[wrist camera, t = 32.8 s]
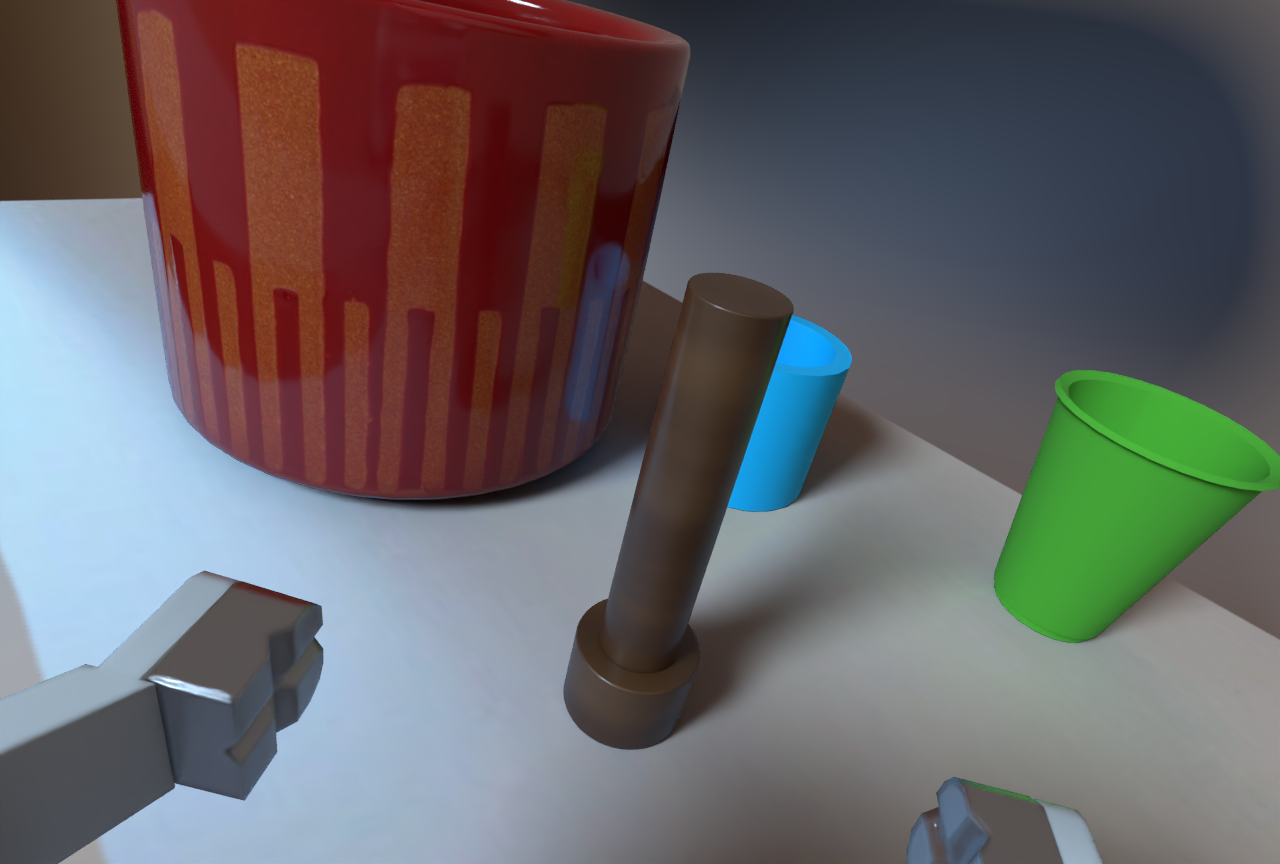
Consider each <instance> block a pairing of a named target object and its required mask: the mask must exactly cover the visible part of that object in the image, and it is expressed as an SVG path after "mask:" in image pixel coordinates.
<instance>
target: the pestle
mask: <svg viewBox="0 0 1280 864" xmlns="http://www.w3.org/2000/svg"><path fill="white" fill-rule="evenodd" d="M792 314H793V304H792V303H791V302H790V300H789V299H788V298H787V297H786V296H785V295H783V294H782V293H780V292H779V291H777V290H775V289H773V288H772V287H769V286H767V285H765V284H763V283H760V282H757V281H754V280H751V279H748V278H745V277H741V276H736V275H731V274H723V273H702V274H698V275H695V276H693V277H692V278H691V279H690V280H689V281H688V284H687V288H686V292H685V296H684V300H683V304H682V308H681V312H680V316H679V320H678V324H677V328H676V332H675V336H674V340H673V344H672V348H671V351H670V355H669V359H668V363H667V367H666V371H665V375H664V379H663V383H662V387H661V391H660V395H659V399H658V403H657V407H656V411H655V415H654V419H653V423H652V427H651V431H650V435H649V439H648V443H647V447H646V451H645V454H644V458H643V462H642V466H641V470H640V474H639V478H638V482H637V486H636V490H635V494H634V498H633V502H632V506H631V510H630V514H629V518H628V522H627V526H626V530H625V534H624V538H623V542H622V546H621V550H620V554H619V558H618V561H617V565H616V569H615V573H614V577H613V581H612V585H611V589H610V593H609V597H608V599H606V600H603V601H601V602H599V603H597V604H595V605H594V606H592V607H591V608H590V609H589V610H588V611H587V612H586V613H585V614H584V615H583V616H582V618H581V620H580V621H579V624H578V626H577V630H576V635H575V639H574V644H573V648H572V652H571V657H570V661H569V665H568V670H567V674H566V679H565V683H564V700H565V704H566V707H567V710H568V712H569V714H570V716H571V718H572V719H573V721H574V722H575V723H576V725H577V726H578V727H579V728H580V729H581V730H582V731H583V732H584V733H586V734H587V735H588V736H589V737H591V738H593V739H594V740H596V741H598V742H600V743H602V744H604V745H607V746H610V747H614V748H619V749H641V748H646V747H649V746H652V745H654V744H656V743H658V742H660V741H661V740H663V739H665V738H666V737H667V736H668V735H669V734H670V733H671V732H672V731H673V729H674V728H675V726H676V725H677V723H678V720H679V718H680V715H681V712H682V709H683V707H684V704H685V701H686V698H687V696H688V693H689V690H690V687H691V685H692V682H693V679H694V676H695V674H696V671H697V668H698V665H699V660H700V650H699V644H698V641H697V638H696V636H695V634H694V632H693V630H692V629H691V627H690V626H689V625H688V622H689V619H690V616H691V613H692V610H693V607H694V604H695V601H696V598H697V595H698V592H699V589H700V586H701V583H702V580H703V577H704V574H705V571H706V568H707V566H708V563H709V560H710V557H711V554H712V551H713V548H714V545H715V542H716V539H717V536H718V533H719V530H720V527H721V524H722V521H723V518H724V515H725V512H726V509H727V506H728V503H729V500H730V497H731V495H732V492H733V489H734V486H735V483H736V480H737V477H738V474H739V471H740V468H741V465H742V462H743V459H744V456H745V453H746V450H747V447H748V444H749V441H750V438H751V435H752V432H753V429H754V426H755V424H756V421H757V418H758V415H759V412H760V409H761V406H762V403H763V400H764V397H765V394H766V391H767V388H768V385H769V382H770V379H771V376H772V373H773V370H774V367H775V364H776V361H777V358H778V355H779V353H780V350H781V347H782V344H783V341H784V338H785V335H786V332H787V329H788V326H789V323H790V320H791V317H792Z"/></svg>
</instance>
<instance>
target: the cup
mask: <svg viewBox="0 0 1280 864" xmlns="http://www.w3.org/2000/svg"><path fill="white" fill-rule="evenodd" d="M1055 391H1056V393H1057V394H1058V399H1057V402H1056V405H1055V407H1054V410H1053V413H1052V415H1051V418H1050V421H1049V424H1048V426H1047V429H1046V432H1045V435H1044V437H1043V440H1042V443H1041V446H1040V449H1039V451H1038V454H1037V457H1036V460H1035V462H1034V465H1033V468H1032V470H1031V473H1030V476H1029V479H1028V481H1027V484H1026V487H1025V490H1024V492H1023V495H1022V498H1021V501H1020V503H1019V506H1018V509H1017V512H1016V514H1015V517H1014V520H1013V523H1012V525H1011V528H1010V531H1009V534H1008V536H1007V539H1006V542H1005V545H1004V547H1003V550H1002V553H1001V556H1000V558H999V561H998V564H997V567H996V569H995V574H994V580H995V584H994V588H995V591H996V595H997V596H998V598H999V600H1000V601H1001V603H1002V604H1003V605H1004V606H1005V608H1006V609H1007V610H1008V611H1009V612H1010V613H1011V614H1012V615H1013V616H1015V617H1016V618H1017V619H1018V620H1019V621H1021V622H1022V623H1024V624H1025V625H1027V626H1028V627H1030V628H1031V629H1033V630H1035V631H1037V632H1039V633H1041V634H1043V635H1045V636H1048V637H1050V638H1053V639H1056V640H1060V641H1064V642H1075V643H1078V642H1083V641H1086V640H1088V639H1089V638H1093V637H1096V636H1097V635H1099V634H1100V633H1101V632H1102V631H1103V630H1105V629H1106V628H1107V627H1108V626H1109V625H1110V624H1111V623H1113V622H1114V621H1115V620H1116V619H1117V618H1118V617H1119V616H1121V615H1122V614H1123V613H1124V612H1125V611H1126V610H1127V609H1129V608H1130V607H1131V606H1132V605H1133V604H1134V603H1135V602H1137V601H1138V600H1139V599H1140V598H1141V597H1142V596H1143V595H1145V594H1146V593H1147V592H1148V591H1149V590H1150V589H1151V588H1152V587H1154V586H1155V585H1156V584H1157V583H1158V582H1159V581H1160V580H1162V579H1163V578H1164V577H1165V576H1166V575H1167V574H1168V573H1170V572H1171V571H1172V570H1173V569H1174V568H1175V567H1176V566H1178V565H1179V564H1180V563H1181V562H1182V561H1183V560H1184V559H1185V558H1187V557H1188V556H1189V555H1190V554H1191V553H1192V552H1194V551H1195V550H1196V549H1197V548H1198V547H1199V546H1200V545H1202V544H1203V543H1204V542H1205V541H1206V540H1207V539H1208V538H1209V537H1211V536H1212V535H1213V534H1214V533H1215V532H1216V531H1217V530H1218V529H1220V528H1221V527H1222V526H1223V525H1224V524H1225V523H1227V522H1228V521H1229V520H1230V519H1231V518H1232V517H1233V516H1234V515H1236V514H1237V513H1238V512H1239V511H1240V510H1241V509H1242V508H1244V507H1245V506H1246V505H1247V504H1248V503H1249V502H1250V501H1252V500H1253V499H1254V498H1255V497H1256V496H1257V495H1258V494H1260V493H1261V492H1262V491H1267V490H1274V489H1279V488H1280V456H1279V455H1278V454H1277V453H1276V452H1275V451H1274V450H1273V449H1272V448H1271V447H1269V446H1268V444H1266V443H1265V442H1264V441H1262V440H1261V439H1260V438H1258V437H1257V436H1256V435H1254V434H1253V433H1251V432H1250V431H1249V430H1247V429H1245V428H1244V427H1242V426H1240V425H1239V424H1237V423H1236V422H1234V421H1232V420H1231V419H1229V418H1227V417H1225V416H1223V415H1221V414H1220V413H1218V412H1216V411H1214V410H1212V409H1210V408H1208V407H1206V406H1204V405H1202V404H1200V403H1197V402H1195V401H1193V400H1190V399H1188V398H1186V397H1184V396H1181V395H1179V394H1177V393H1174V392H1171V391H1169V390H1166V389H1164V388H1161V387H1158V386H1156V385H1153V384H1150V383H1146V382H1143V381H1140V380H1136V379H1133V378H1129V377H1126V376H1121V375H1117V374H1113V373H1108V372H1099V371H1093V370H1075V371H1072V372H1068V373H1065V374H1064V375H1062V376H1061V377H1060V378H1059V379H1058V380H1057V381H1056V382H1055Z"/></svg>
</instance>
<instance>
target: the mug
mask: <svg viewBox="0 0 1280 864" xmlns="http://www.w3.org/2000/svg"><path fill="white" fill-rule="evenodd" d="M851 362H852V356H851V354H850V351H849V349H848V348H847V347H846V346H845V345H844V344H843V343H842V342H841V341H840V340H839V339H838V338H837V337H836V336H834V335H833V334H831V333H830V332H828V331H827V330H825V329H824V328H822V327H820V326H818V325H816V324H814V323H812V322H809V321H807V320H805V319H803V318H801V317H798V316H795V315H792V317H791V320H790V323H789V326H788V329H787V332H786V335H785V338H784V341H783V344H782V347H781V350H780V353H779V355H778V358H777V361H776V364H775V367H774V370H773V373H772V376H771V379H770V382H769V385H768V388H767V391H766V394H765V397H764V400H763V403H762V406H761V409H760V412H759V415H758V418H757V421H756V424H755V426H754V429H753V432H752V435H751V438H750V441H749V444H748V447H747V450H746V453H745V456H744V459H743V462H742V465H741V468H740V471H739V474H738V477H737V480H736V483H735V486H734V489H733V492H732V495H731V497H730V500H729V503H728V506H727V507H731V508H735V509H740V510H745V511H771V510H775V509H779V508H783V507H786V506H788V505H789V504H790V503H792V502H793V501H794V500H796V499H797V498H798V496H799V494H800V491H801V489H802V486H803V483H804V481H805V478H806V476H807V473H808V471H809V468H810V466H811V463H812V461H813V458H814V456H815V453H816V451H817V448H818V446H819V443H820V441H821V438H822V436H823V433H824V430H825V428H826V425H827V423H828V420H829V418H830V415H831V413H832V410H833V408H834V405H835V403H836V400H837V398H838V395H839V393H840V390H841V387H842V385H843V383H844V380H845V377H846V375H847V372H848V370H849V367H850V365H851Z"/></svg>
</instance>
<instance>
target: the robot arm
mask: <svg viewBox="0 0 1280 864" xmlns="http://www.w3.org/2000/svg"><path fill="white" fill-rule="evenodd" d="M322 625H323V620H322V606H320V605H317V604H315V603H312V602H308V601H305V600H302V599H298V598H295V597H292V596H288V595H285V594H282V593H279V592H275V591H272V590H269V589H265V588H262V587H259V586H255V585H252V584H249V583H246V582H242V581H238V580H235V579H231V578H228V577H224V576H221V575H217V574H214V573H210V572H207V571H203V572H201V573H198V574H196V575H194V576H192V577H190V578H189V579H188V580H187V581H186V582H185V583H184V584H183V585H182V586H181V587H180V588H178V589H177V590H176V591H175V592H174V593H173V594H172V595H171V596H170V597H169V598H168V599H167V600H166V601H165V602H164V603H163V604H162V605H161V606H160V607H159V608H158V609H157V610H156V611H155V612H154V613H153V614H152V615H151V616H150V617H149V618H148V619H147V620H146V621H145V622H144V623H143V624H142V625H141V626H140V627H139V628H137V629H136V630H135V631H134V632H133V633H132V634H131V635H130V636H129V637H128V638H127V639H126V640H125V641H124V642H123V643H122V644H121V645H120V646H119V647H118V648H117V649H116V650H115V651H114V652H113V653H112V654H111V655H110V656H109V657H108V658H107V659H106V660H105V661H104V662H103V663H102V664H101V665H100V666H99V667H95V666H91V665H87V664H85V665H82V666H80V667H78V668H75V669H73V670H70V671H68V672H65V673H63V674H60V675H58V676H55V677H53V678H50V679H48V680H45V681H43V682H40V683H38V684H36V685H33V686H31V687H28V688H26V689H23V690H21V691H18V692H16V693H13V694H11V695H8V696H6V697H4V698H1V699H0V864H58V863H60V862H61V861H63V860H64V859H66V858H67V857H69V856H71V855H72V854H74V853H75V852H77V851H78V850H80V849H81V848H83V847H84V846H86V845H88V844H89V843H91V842H92V841H94V840H95V839H97V838H98V837H100V836H101V835H103V834H105V833H106V832H108V831H109V830H111V829H112V828H114V827H115V826H117V825H118V824H120V823H122V822H123V821H125V820H126V819H128V818H129V817H131V816H132V815H134V814H135V813H137V812H138V811H140V810H142V809H143V808H145V807H146V806H148V805H149V804H151V803H152V802H154V801H155V800H157V799H159V798H160V797H162V796H163V795H165V794H166V793H168V792H169V791H171V790H172V789H174V788H175V784H174V783H176V784H180V785H184V786H188V787H192V788H196V789H200V790H204V791H208V792H212V793H216V794H220V795H224V796H228V797H232V798H236V799H240V800H244V801H245V799H246V798H247V796H248V795H249V793H250V792H251V790H252V789H253V787H254V786H255V784H256V783H257V781H258V780H259V778H260V777H261V775H262V774H263V772H264V771H265V769H266V768H267V766H268V765H269V763H270V762H271V760H272V759H273V758H274V756H275V755H276V753H277V741H276V733H277V732H279V731H280V730H282V729H284V728H286V727H288V726H290V725H292V724H293V723H295V722H297V721H298V720H299V718H300V717H301V715H302V713H303V712H304V710H305V709H306V707H307V706H308V704H309V703H310V701H311V698H312V696H313V694H314V691H315V689H316V687H317V684H318V682H319V680H320V675H321V671H322V666H323V648H322V647H321V645H320V644H319V643H318V641H317V640H316V639H315V637H314V636H315V635H316V633H317V632H318V631H319V629H320V628H321V626H322ZM936 794H937V799H938V804H939V807H938V808H935V809H932V810H930V811H927V812H924V813H922V814H921V815H920V817H919V818H918V820H917V822H916V823H915V825H914V826H913V828H912V830H911V834H910V838H909V843H908V847H907V864H1103V862H1102V860H1101V857H1100V855H1099V852H1098V850H1097V847H1096V845H1095V842H1094V840H1093V837H1092V834H1091V832H1090V829H1089V827H1088V824H1087V822H1086V820H1085V819H1084V818H1083V817H1082V815H1081V814H1080V813H1079V812H1078V811H1077V810H1074V809H1070V808H1067V807H1063V806H1060V805H1056V804H1052V803H1049V802H1045V801H1041V800H1038V799H1032V798H1031V797H1029V796H1026V795H1022V794H1018V793H1014V792H1010V791H1006V790H1003V789H999V788H995V787H991V786H987V785H983V784H979V783H976V782H972V781H968V780H964V779H960V778H956V777H953V778H951V779H949V780H946V781H945V782H944V783H943V784H942V786H941V787H940V788H939V790H938V791H937V793H936Z"/></svg>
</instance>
